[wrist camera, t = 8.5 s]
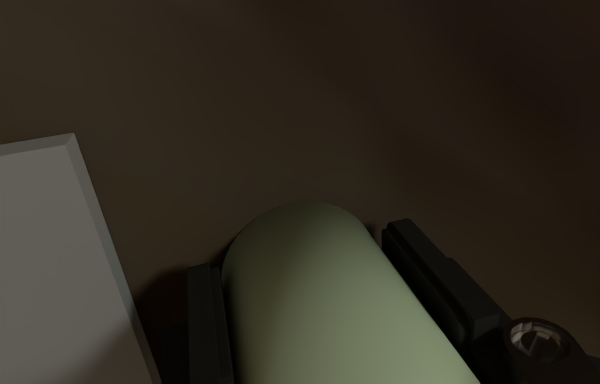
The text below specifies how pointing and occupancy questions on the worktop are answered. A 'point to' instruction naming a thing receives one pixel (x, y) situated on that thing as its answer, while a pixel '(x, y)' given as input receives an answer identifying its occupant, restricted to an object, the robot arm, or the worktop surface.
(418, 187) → the worktop surface
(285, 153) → the worktop surface
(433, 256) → the robot arm
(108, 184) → the worktop surface
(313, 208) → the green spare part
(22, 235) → the slate mat
